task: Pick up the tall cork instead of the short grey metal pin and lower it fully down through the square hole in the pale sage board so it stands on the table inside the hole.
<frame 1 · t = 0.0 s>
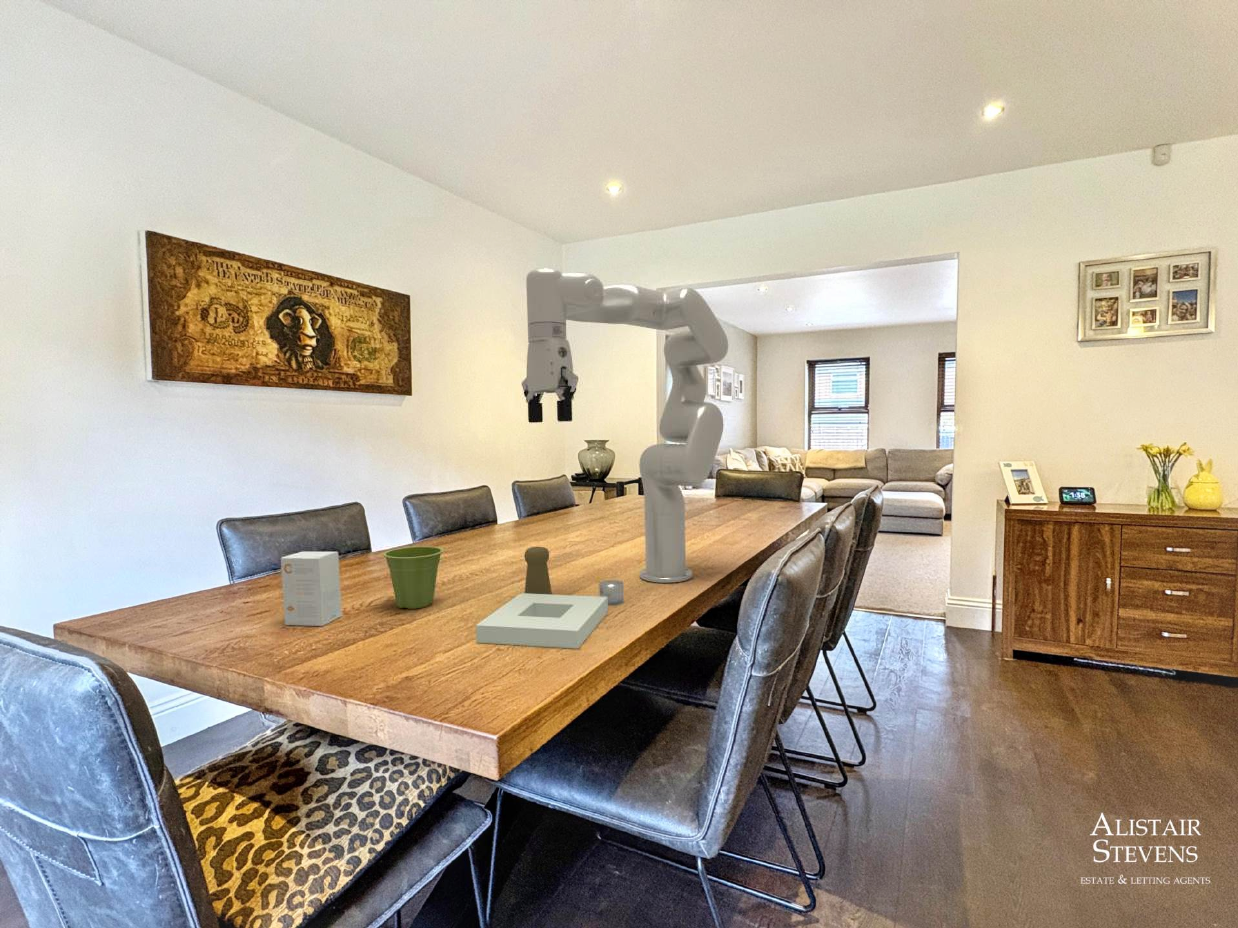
hand: (549, 421, 122), 37 cm above the table, tool pointing down, fingers open, 9 cm apart
hole board: (546, 626, 112), on the table
small box: (314, 621, 118), on the table
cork: (538, 599, 130), on the table
plant pot: (416, 605, 128), on the table
short metal pin: (611, 602, 127), on the table
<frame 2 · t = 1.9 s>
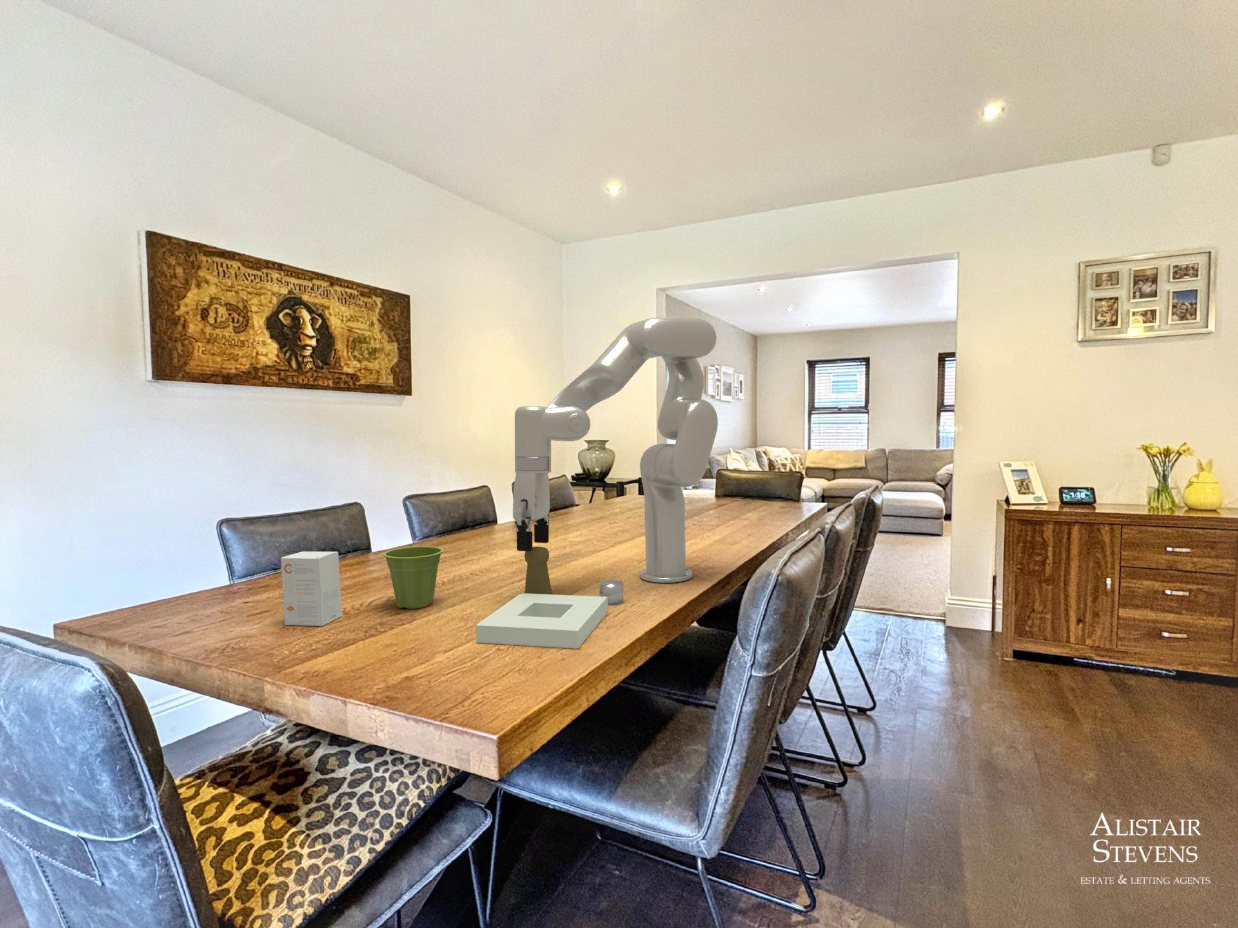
hand: (533, 546, 129), 11 cm above the table, tool pointing down, fingers open, 9 cm apart
nothing on the table moved.
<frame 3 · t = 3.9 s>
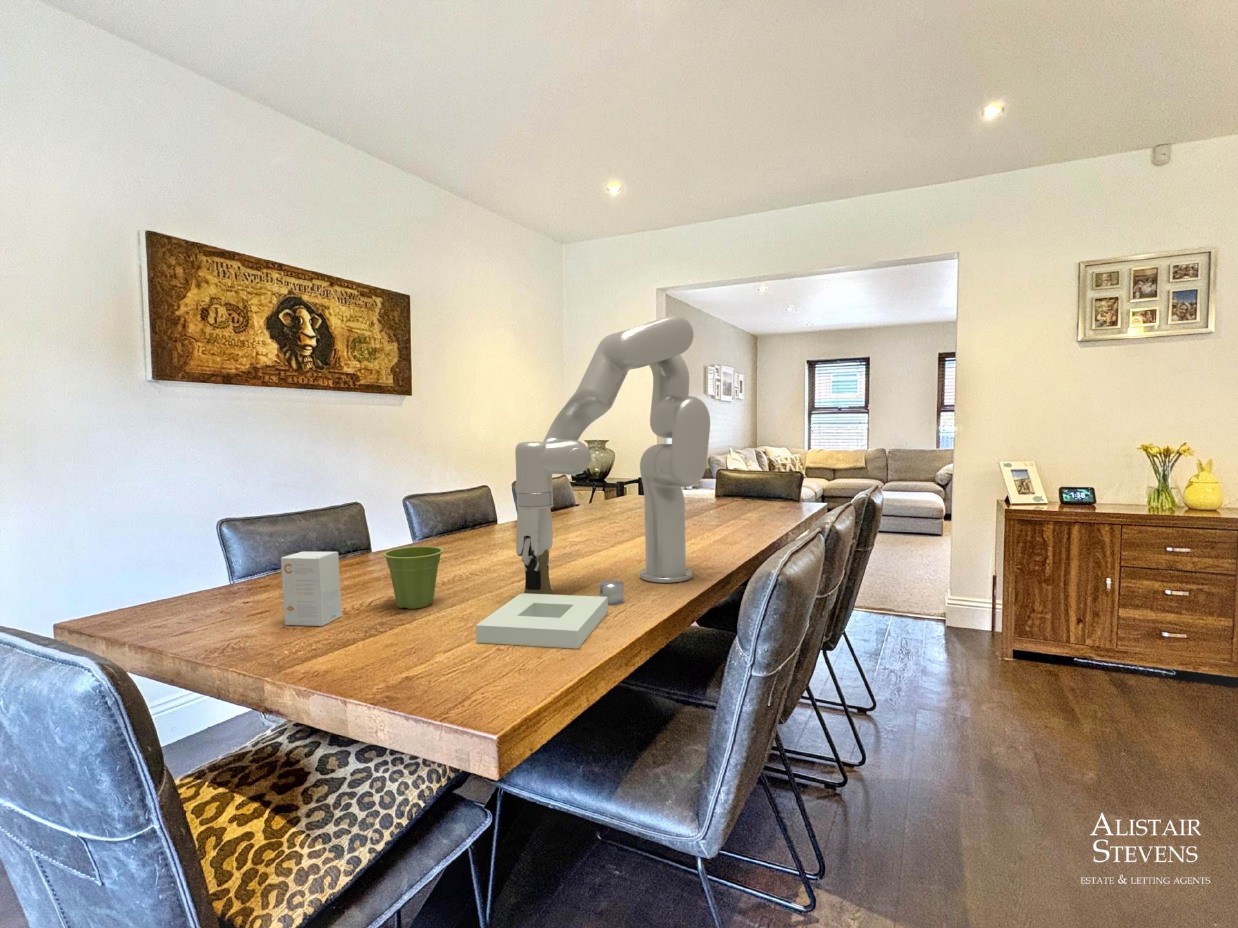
hand: (537, 585, 130), 3 cm above the table, tool pointing down, fingers closed on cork, 4 cm apart
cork: (538, 599, 130), on the table, touching gripper
everything else where it was.
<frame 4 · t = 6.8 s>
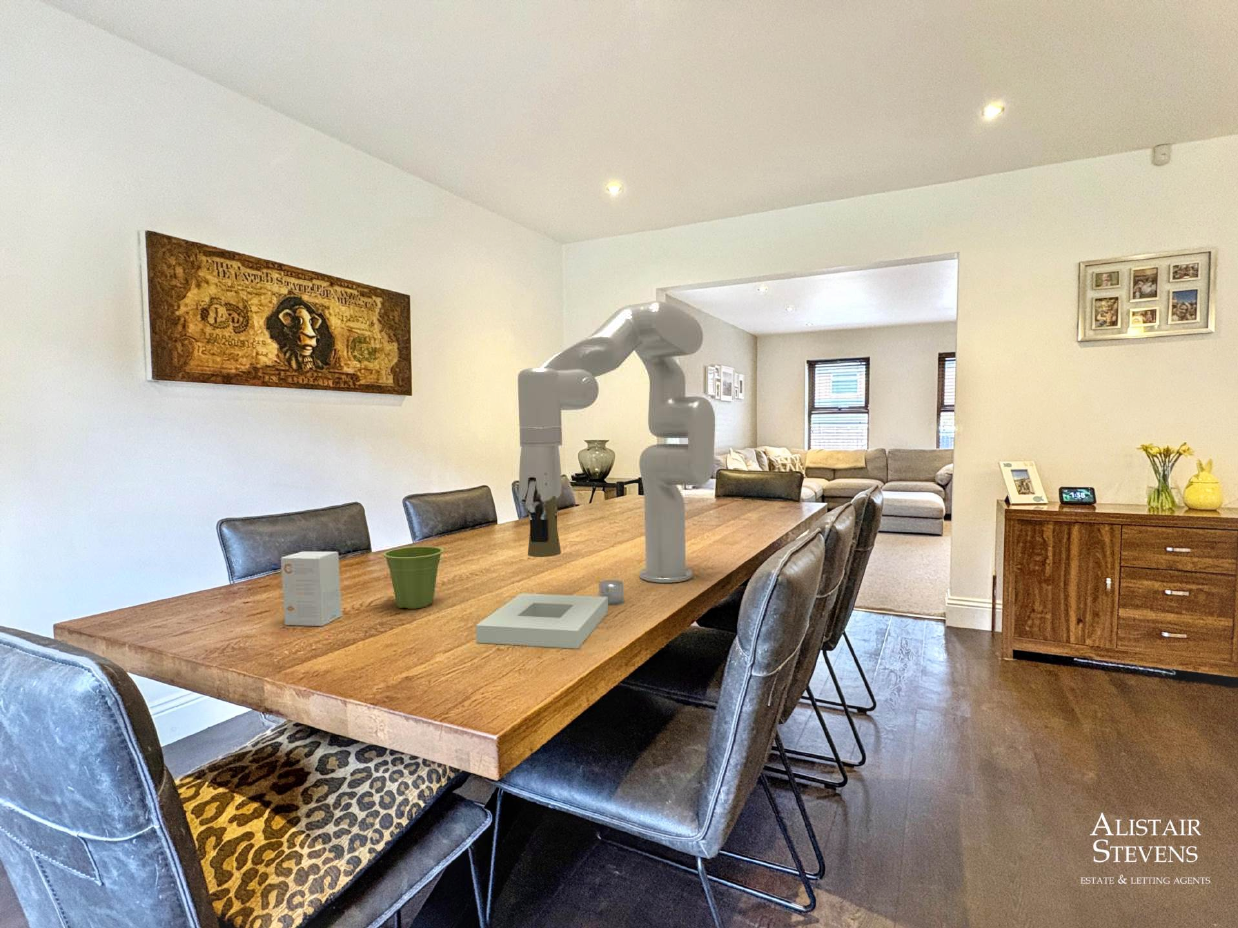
hand: (544, 538, 111), 16 cm above the table, tool pointing down, fingers closed on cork, 4 cm apart
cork: (544, 554, 111), point 13 cm above the table, touching gripper
everything else where it was.
when the fingers open (4 cm above the table, at t = 9.9 s): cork drops 1 cm, resting in hole board.
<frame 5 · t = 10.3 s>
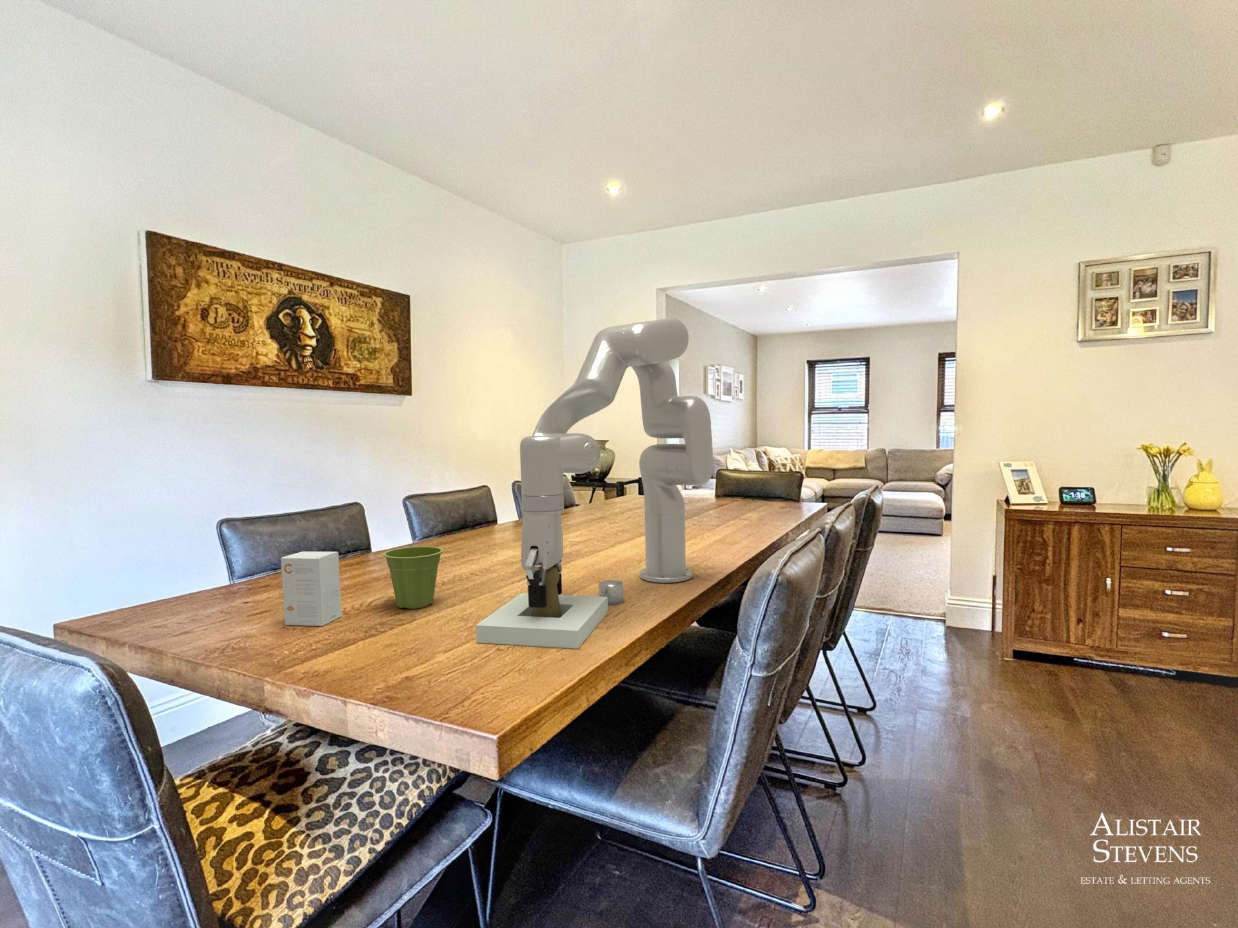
hand: (545, 599, 112), 5 cm above the table, tool pointing down, fingers open, 7 cm apart
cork: (546, 627, 112), resting in hole board
everything else where it was.
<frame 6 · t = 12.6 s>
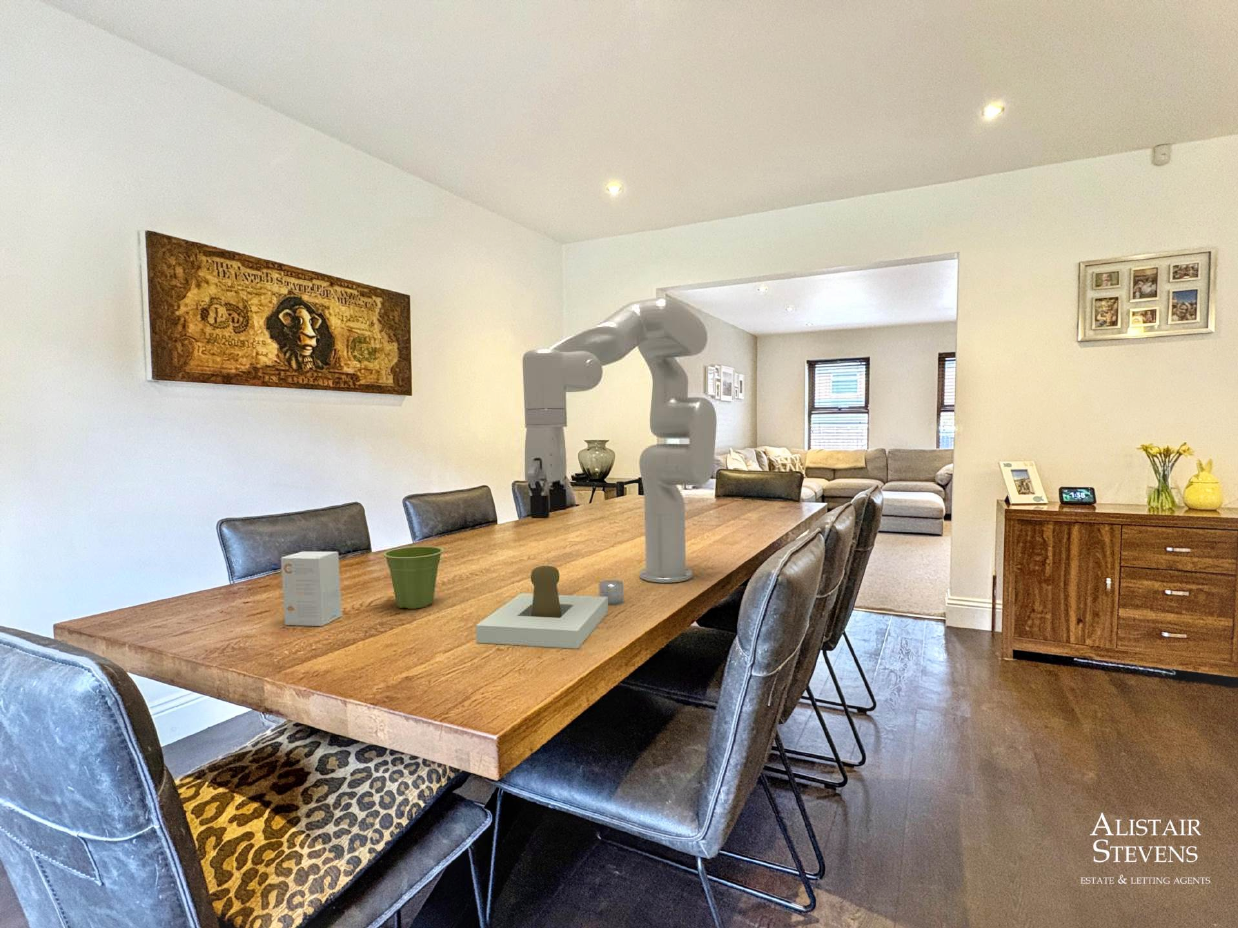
hand: (549, 513, 112), 20 cm above the table, tool pointing down, fingers open, 9 cm apart
nothing on the table moved.
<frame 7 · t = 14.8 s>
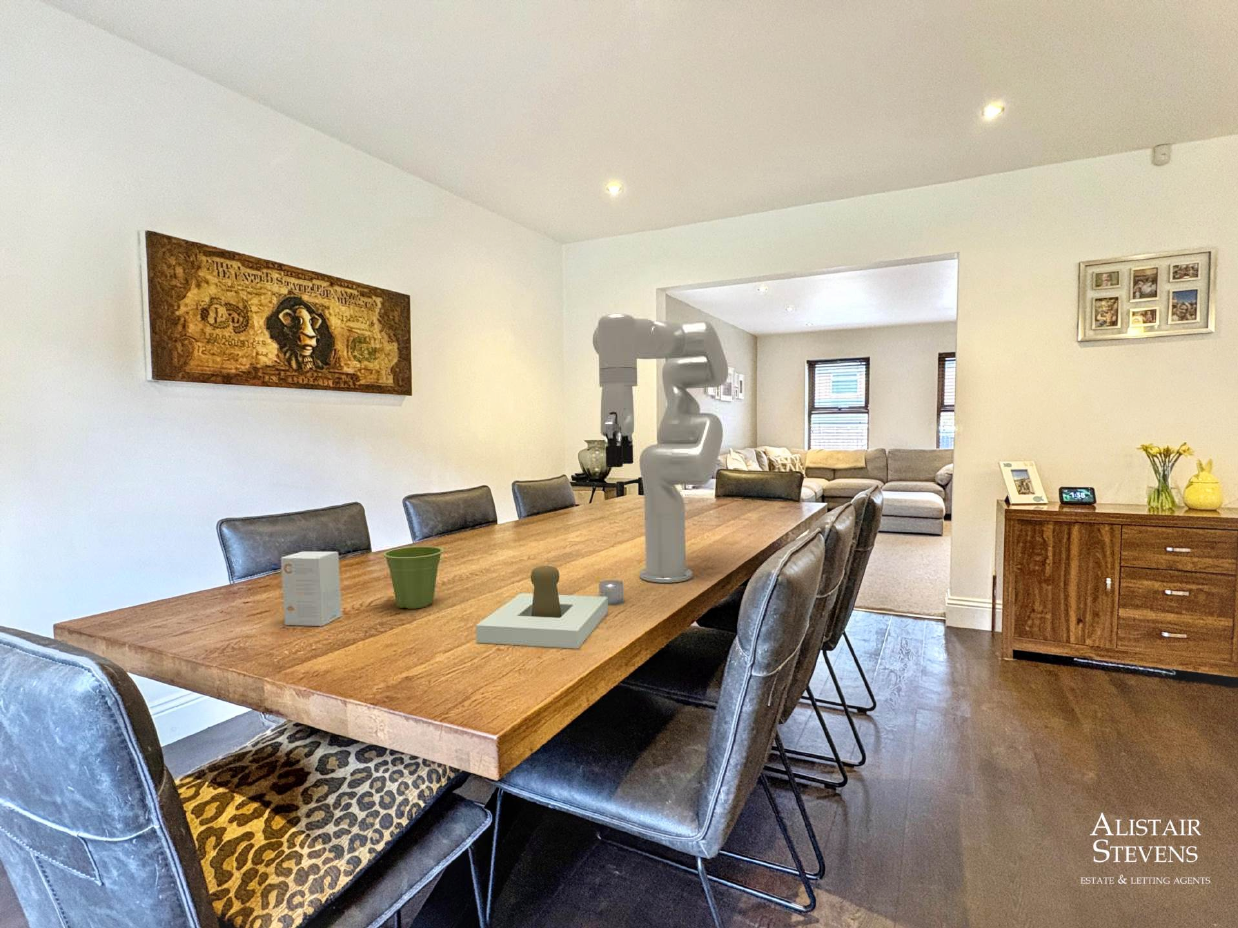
hand: (620, 465, 122), 28 cm above the table, tool pointing down, fingers open, 9 cm apart
nothing on the table moved.
at the end: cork 0.2 cm off-centre on the hole board, point 0.0 cm above the hole board's base; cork tilted 0°; the gripper is holding nothing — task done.
